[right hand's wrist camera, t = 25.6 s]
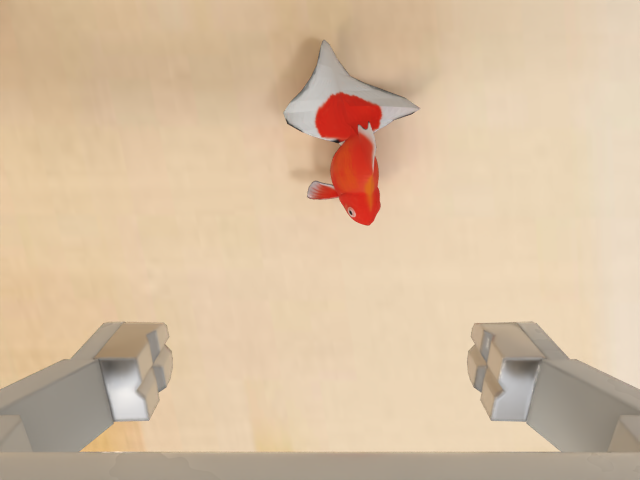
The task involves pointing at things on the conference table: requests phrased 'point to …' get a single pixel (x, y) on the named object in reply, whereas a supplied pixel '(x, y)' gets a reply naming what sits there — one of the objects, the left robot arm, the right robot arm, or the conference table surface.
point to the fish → (346, 131)
